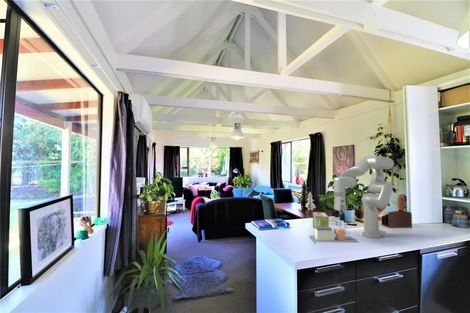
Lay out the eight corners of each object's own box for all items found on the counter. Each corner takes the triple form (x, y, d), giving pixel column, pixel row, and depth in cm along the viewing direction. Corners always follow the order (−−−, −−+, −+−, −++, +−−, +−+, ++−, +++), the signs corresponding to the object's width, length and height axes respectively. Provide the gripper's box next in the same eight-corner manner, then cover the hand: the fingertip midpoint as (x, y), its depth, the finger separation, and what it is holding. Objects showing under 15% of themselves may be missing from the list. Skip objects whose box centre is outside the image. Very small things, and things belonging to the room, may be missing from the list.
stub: (343, 238, 163) (342, 228, 163) (345, 240, 159) (345, 229, 159) (335, 238, 163) (335, 228, 164) (338, 239, 159) (337, 229, 160)
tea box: (329, 236, 172) (328, 216, 173) (315, 235, 174) (314, 215, 175) (325, 230, 187) (325, 212, 187) (312, 229, 189) (312, 211, 189)
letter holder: (412, 228, 192) (411, 211, 193) (389, 228, 192) (388, 211, 193) (403, 224, 202) (403, 208, 203) (381, 225, 202) (380, 209, 203)
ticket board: (350, 237, 168) (350, 225, 168) (360, 244, 154) (359, 230, 154) (309, 237, 169) (309, 224, 170) (314, 243, 155) (314, 230, 156)
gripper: (350, 196, 153) (350, 222, 153) (339, 193, 171) (340, 216, 170) (338, 196, 154) (339, 221, 153) (329, 193, 171) (329, 216, 170)
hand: (339, 218), depth 161 cm, fingers open, 9 cm apart
